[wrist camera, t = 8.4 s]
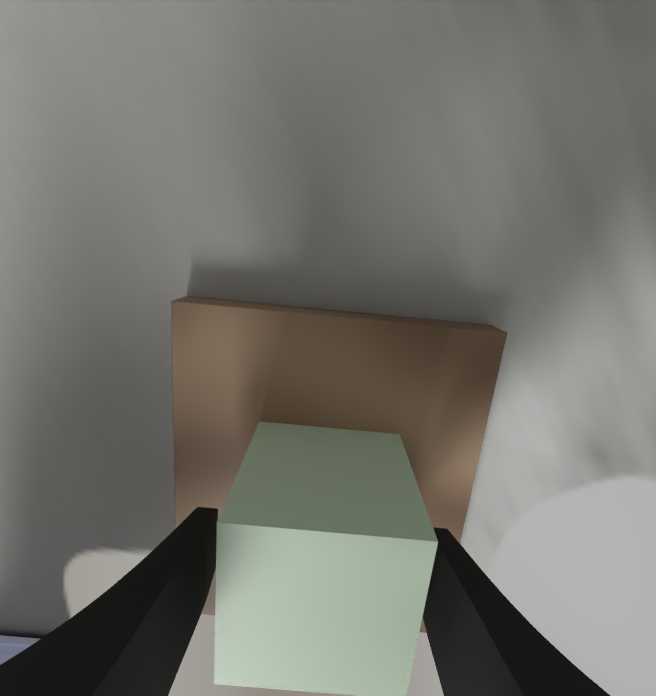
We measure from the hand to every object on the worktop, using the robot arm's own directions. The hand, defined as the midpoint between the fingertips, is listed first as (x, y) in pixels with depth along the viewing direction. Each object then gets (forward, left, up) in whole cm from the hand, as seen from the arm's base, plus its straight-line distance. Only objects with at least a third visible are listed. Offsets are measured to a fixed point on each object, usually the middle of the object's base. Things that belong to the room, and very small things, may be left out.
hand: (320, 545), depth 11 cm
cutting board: (0, 0, -4) cm, 4 cm away
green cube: (0, 0, -3) cm, 3 cm away
